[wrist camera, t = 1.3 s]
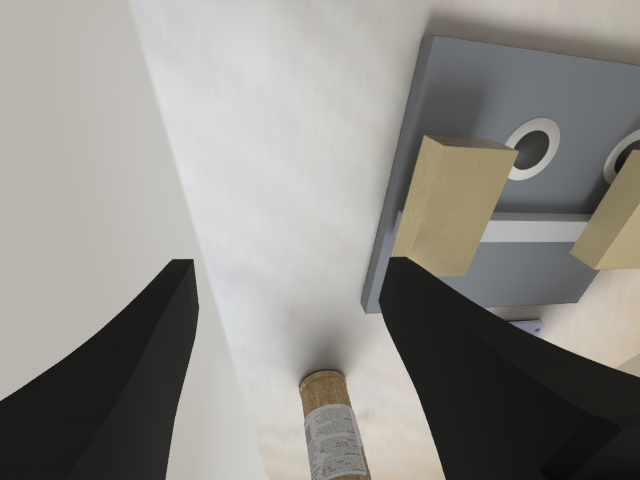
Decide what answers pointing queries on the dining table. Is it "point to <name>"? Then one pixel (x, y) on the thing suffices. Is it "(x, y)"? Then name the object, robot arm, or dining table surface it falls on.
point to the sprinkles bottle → (332, 429)
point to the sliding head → (451, 201)
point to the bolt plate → (528, 167)
